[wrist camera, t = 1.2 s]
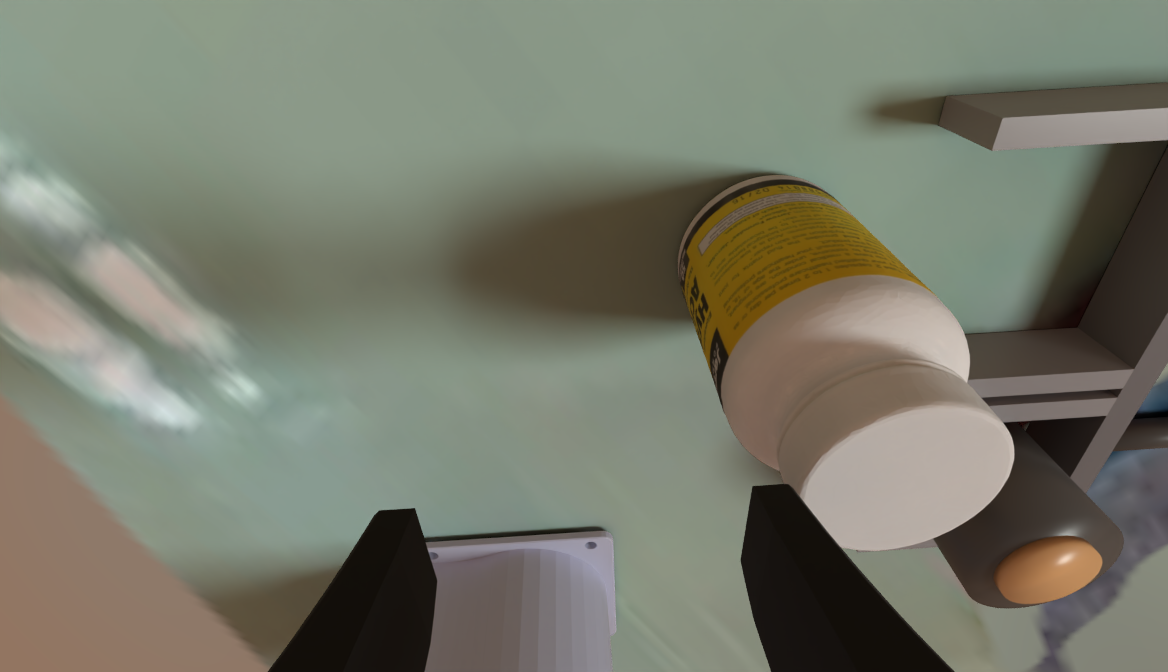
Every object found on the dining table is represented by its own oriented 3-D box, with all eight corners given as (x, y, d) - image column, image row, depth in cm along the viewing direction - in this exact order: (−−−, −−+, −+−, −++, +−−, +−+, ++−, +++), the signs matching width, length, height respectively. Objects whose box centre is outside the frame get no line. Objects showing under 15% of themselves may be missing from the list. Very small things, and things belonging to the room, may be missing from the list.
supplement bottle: (643, 232, 18) (712, 461, 10) (805, 134, 17) (1036, 310, 9) (718, 348, 21) (821, 603, 13) (864, 272, 20) (1084, 506, 11)
